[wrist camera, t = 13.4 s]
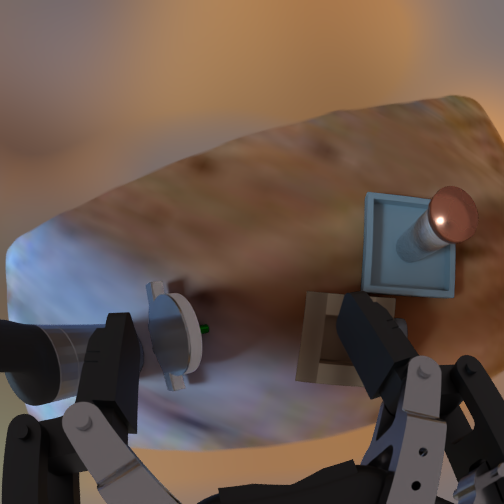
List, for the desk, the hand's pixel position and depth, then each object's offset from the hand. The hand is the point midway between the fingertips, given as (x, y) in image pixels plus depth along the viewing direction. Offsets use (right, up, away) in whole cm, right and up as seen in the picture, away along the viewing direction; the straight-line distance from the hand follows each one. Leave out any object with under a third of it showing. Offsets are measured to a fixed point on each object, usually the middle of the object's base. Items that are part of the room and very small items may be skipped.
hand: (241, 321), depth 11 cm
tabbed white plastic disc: (-9, -9, +30) cm, 32 cm away
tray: (+21, +3, +25) cm, 33 cm away
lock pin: (+21, +3, +24) cm, 32 cm away
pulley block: (+13, -8, +25) cm, 29 cm away
